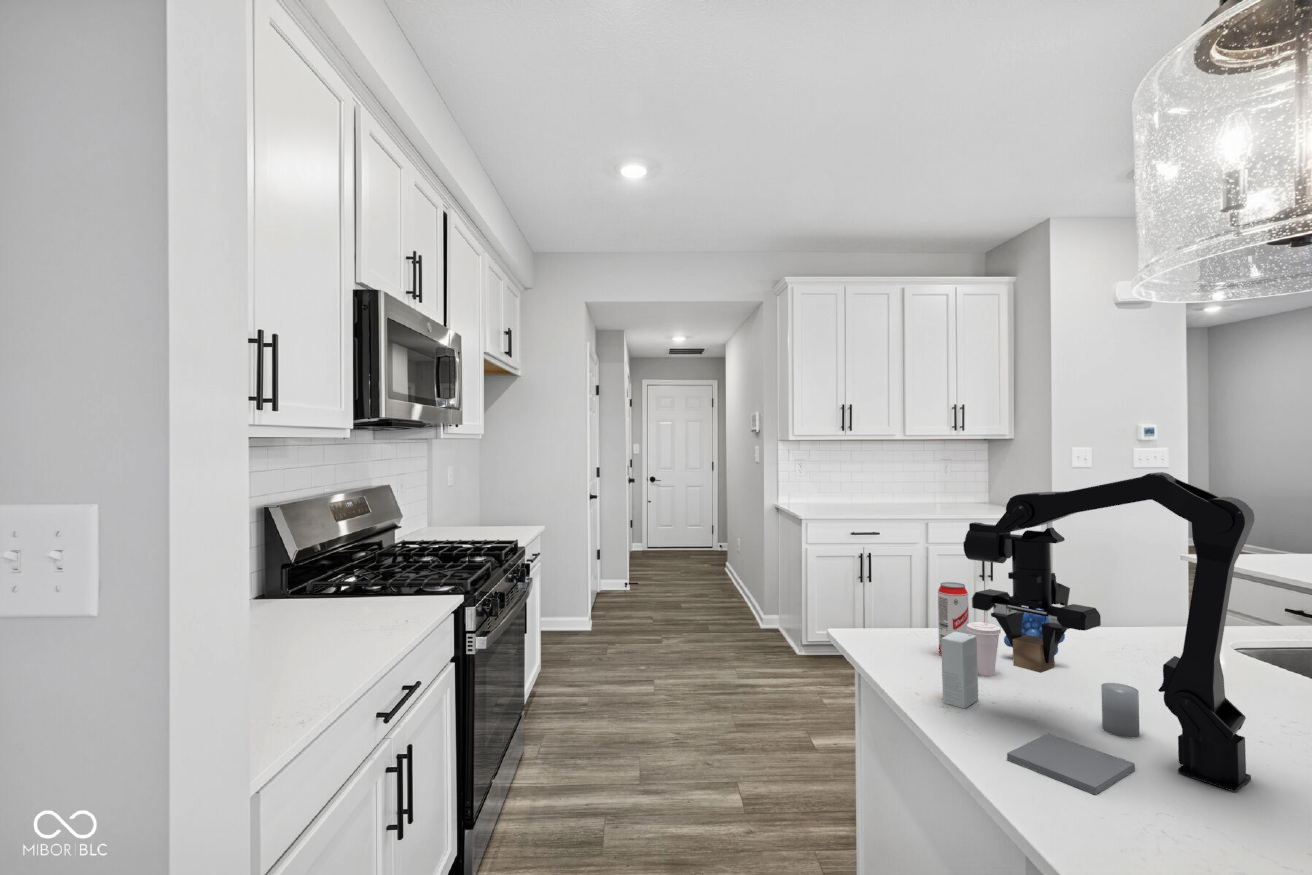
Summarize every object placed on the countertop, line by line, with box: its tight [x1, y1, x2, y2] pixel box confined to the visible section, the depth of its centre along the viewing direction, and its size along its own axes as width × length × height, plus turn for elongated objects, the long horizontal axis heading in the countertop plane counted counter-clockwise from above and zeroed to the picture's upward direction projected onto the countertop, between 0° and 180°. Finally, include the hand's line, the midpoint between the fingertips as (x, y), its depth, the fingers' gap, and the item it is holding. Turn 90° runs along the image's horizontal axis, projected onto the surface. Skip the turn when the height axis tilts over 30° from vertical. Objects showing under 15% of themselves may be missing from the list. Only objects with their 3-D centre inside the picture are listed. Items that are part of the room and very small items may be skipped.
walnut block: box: [1012, 635, 1056, 674], centre depth 111 cm, size 4×4×4 cm
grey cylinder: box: [1100, 682, 1141, 739], centre depth 107 cm, size 5×5×7 cm
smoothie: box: [967, 611, 1002, 677], centre depth 135 cm, size 6×6×14 cm
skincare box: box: [941, 632, 979, 709], centre depth 121 cm, size 6×4×12 cm
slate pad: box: [1006, 732, 1136, 796], centre depth 96 cm, size 12×12×1 cm
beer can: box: [937, 581, 970, 655], centre depth 146 cm, size 6×6×16 cm
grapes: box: [1003, 608, 1066, 656], centre depth 142 cm, size 12×7×12 cm, turn 51°
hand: (1033, 659), depth 111 cm, fingers closed on walnut block, 4 cm apart
